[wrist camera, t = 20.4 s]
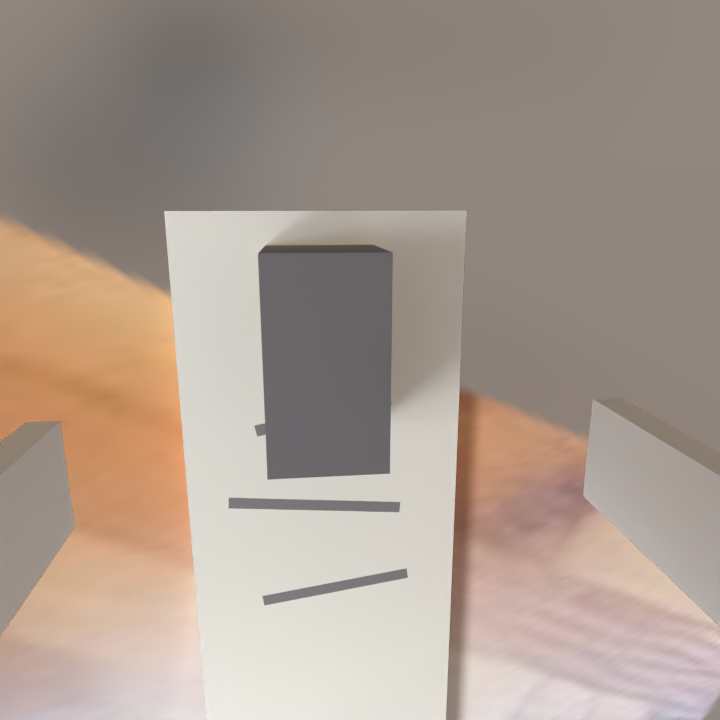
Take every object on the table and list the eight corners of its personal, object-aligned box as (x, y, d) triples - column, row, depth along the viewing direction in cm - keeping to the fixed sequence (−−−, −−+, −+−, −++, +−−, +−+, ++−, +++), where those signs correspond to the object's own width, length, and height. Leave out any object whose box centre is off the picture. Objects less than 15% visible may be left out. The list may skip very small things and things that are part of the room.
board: (213, 755, 35) (210, 774, 34) (169, 211, 27) (164, 211, 26) (439, 733, 37) (444, 750, 35) (459, 210, 29) (466, 210, 28)
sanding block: (272, 426, 29) (267, 479, 23) (265, 244, 27) (257, 253, 21) (371, 423, 30) (390, 473, 24) (372, 244, 28) (392, 252, 22)
